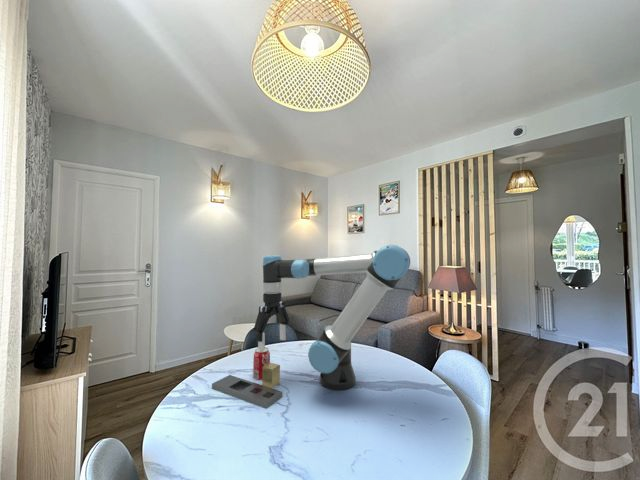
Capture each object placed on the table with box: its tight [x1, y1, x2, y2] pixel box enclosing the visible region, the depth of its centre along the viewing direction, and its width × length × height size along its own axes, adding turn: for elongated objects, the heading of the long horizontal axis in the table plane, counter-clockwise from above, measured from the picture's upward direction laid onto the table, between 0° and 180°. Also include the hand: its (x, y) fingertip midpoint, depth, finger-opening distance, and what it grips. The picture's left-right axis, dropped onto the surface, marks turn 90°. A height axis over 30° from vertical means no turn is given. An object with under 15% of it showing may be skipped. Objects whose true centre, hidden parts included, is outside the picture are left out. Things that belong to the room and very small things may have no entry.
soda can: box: [252, 347, 271, 380], centre depth 117 cm, size 7×7×12 cm
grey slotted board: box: [211, 374, 283, 410], centre depth 103 cm, size 28×9×3 cm, turn 61°
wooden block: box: [261, 362, 281, 389], centre depth 110 cm, size 5×5×8 cm
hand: (272, 344), depth 110 cm, fingers open, 13 cm apart
